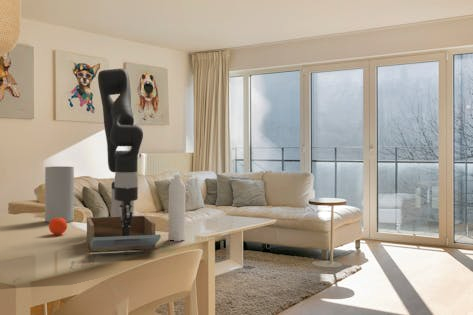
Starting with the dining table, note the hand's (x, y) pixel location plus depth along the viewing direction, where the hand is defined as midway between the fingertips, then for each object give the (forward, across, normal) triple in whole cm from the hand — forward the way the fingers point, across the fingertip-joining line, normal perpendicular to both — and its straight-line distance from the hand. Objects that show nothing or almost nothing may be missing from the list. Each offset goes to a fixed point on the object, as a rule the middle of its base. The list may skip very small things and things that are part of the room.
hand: (125, 237), depth 184 cm
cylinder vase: (+7, -83, -20) cm, 86 cm away
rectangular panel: (+4, -6, 0) cm, 7 cm away
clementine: (+6, -46, -21) cm, 51 cm away
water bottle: (+6, -22, +23) cm, 33 cm away
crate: (+6, -17, 0) cm, 18 cm away
